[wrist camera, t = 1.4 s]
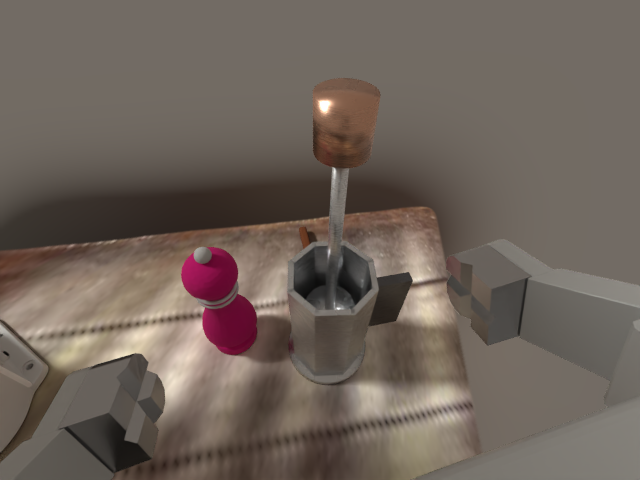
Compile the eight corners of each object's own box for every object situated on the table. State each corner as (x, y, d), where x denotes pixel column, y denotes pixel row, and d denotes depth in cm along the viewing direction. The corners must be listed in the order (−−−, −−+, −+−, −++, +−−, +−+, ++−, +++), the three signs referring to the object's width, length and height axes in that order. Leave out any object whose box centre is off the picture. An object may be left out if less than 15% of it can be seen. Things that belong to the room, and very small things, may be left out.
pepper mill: (231, 369, 45) (190, 293, 30) (201, 336, 48) (149, 251, 33) (270, 332, 48) (251, 248, 33) (239, 304, 51) (209, 214, 36)
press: (273, 347, 47) (256, 276, 33) (334, 288, 53) (342, 210, 40) (332, 405, 42) (341, 351, 28) (391, 333, 48) (422, 261, 35)
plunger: (294, 309, 39) (274, 92, 19) (327, 279, 42) (340, 64, 22) (331, 342, 36) (354, 130, 16) (364, 307, 39) (417, 92, 19)
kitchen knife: (299, 232, 62) (298, 225, 60) (305, 231, 62) (305, 224, 60) (316, 303, 52) (316, 296, 50) (324, 301, 52) (325, 295, 50)
